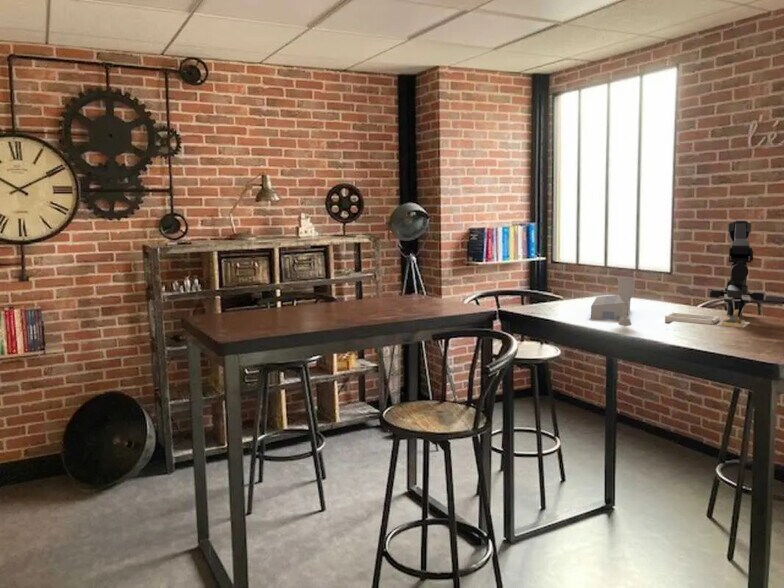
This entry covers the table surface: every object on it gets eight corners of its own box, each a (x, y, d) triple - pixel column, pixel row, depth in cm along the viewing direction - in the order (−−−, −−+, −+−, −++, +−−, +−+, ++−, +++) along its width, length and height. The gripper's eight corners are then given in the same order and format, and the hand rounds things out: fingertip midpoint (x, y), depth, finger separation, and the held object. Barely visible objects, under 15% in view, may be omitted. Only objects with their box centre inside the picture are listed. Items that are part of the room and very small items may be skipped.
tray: (672, 318, 270) (672, 312, 269) (719, 322, 259) (719, 316, 259) (664, 322, 261) (665, 316, 260) (713, 326, 250) (713, 320, 250)
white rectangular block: (722, 322, 259) (723, 312, 259) (749, 325, 253) (750, 314, 253) (716, 327, 249) (716, 317, 248) (744, 330, 243) (744, 319, 243)
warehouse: (596, 308, 300) (597, 292, 299) (630, 310, 294) (630, 293, 293) (590, 319, 272) (591, 301, 271) (627, 321, 267) (628, 302, 266)
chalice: (621, 325, 254) (623, 279, 251) (611, 323, 260) (613, 278, 258) (638, 324, 256) (640, 279, 253) (627, 322, 262) (629, 277, 260)
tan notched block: (745, 322, 254) (746, 310, 254) (739, 326, 244) (740, 314, 244) (727, 320, 258) (728, 308, 257) (721, 325, 248) (721, 312, 248)
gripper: (707, 277, 252) (705, 317, 254) (763, 280, 241) (760, 321, 243) (713, 274, 261) (711, 313, 263) (767, 277, 250) (764, 317, 252)
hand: (736, 316), depth 255 cm, fingers closed on tan notched block
